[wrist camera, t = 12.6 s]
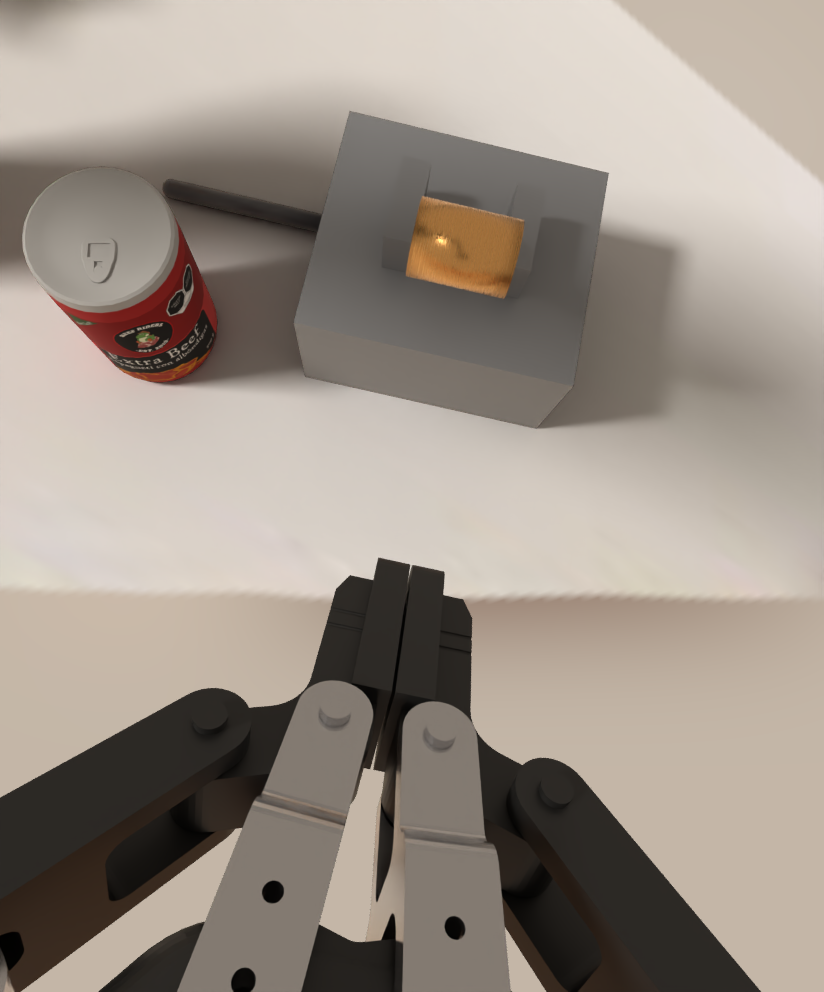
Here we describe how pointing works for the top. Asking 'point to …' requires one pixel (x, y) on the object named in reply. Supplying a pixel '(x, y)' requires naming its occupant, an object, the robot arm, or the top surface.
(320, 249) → the box
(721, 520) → the top surface
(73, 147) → the top surface
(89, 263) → the canned food
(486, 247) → the breaker lever
